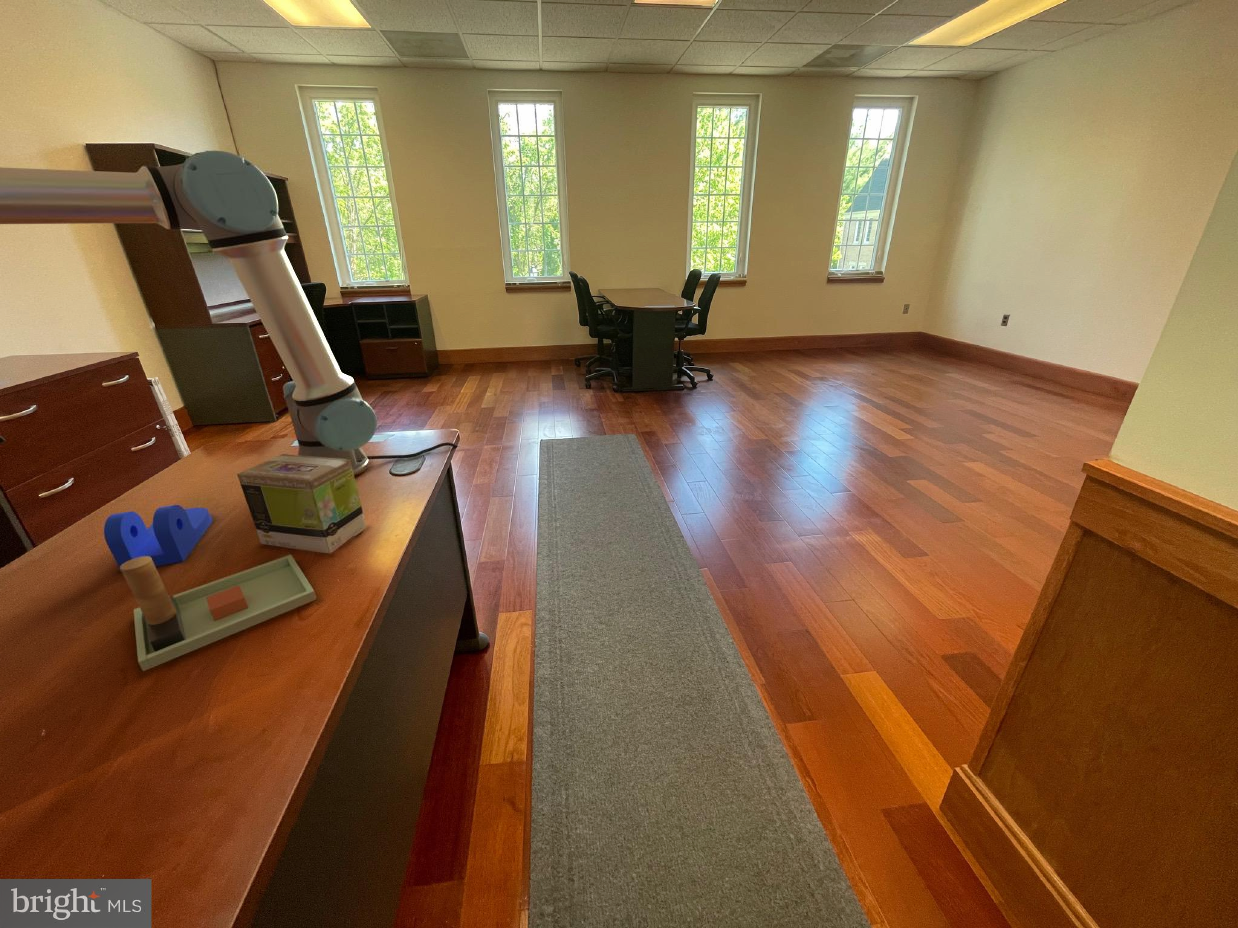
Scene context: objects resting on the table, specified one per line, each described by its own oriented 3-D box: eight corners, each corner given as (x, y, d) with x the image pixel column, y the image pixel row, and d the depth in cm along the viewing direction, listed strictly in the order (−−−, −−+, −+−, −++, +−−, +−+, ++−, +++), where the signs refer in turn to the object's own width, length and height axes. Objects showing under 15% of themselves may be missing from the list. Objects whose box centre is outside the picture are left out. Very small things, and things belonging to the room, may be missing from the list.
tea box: (368, 527, 93) (352, 457, 87) (330, 556, 84) (308, 481, 78) (303, 519, 95) (282, 451, 90) (259, 546, 86) (233, 472, 80)
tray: (294, 564, 82) (290, 554, 81) (317, 601, 73) (314, 590, 72) (139, 620, 69) (133, 609, 68) (144, 674, 60) (137, 662, 59)
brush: (179, 608, 70) (148, 542, 66) (187, 644, 64) (154, 574, 59) (152, 618, 68) (118, 551, 64) (157, 656, 62) (120, 585, 57)
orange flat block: (243, 595, 73) (239, 584, 72) (248, 607, 71) (244, 597, 70) (210, 607, 71) (205, 596, 70) (214, 621, 68) (209, 610, 67)
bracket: (183, 561, 82) (163, 516, 78) (121, 572, 79) (97, 526, 76) (218, 513, 97) (202, 473, 94) (167, 521, 94) (149, 480, 91)
